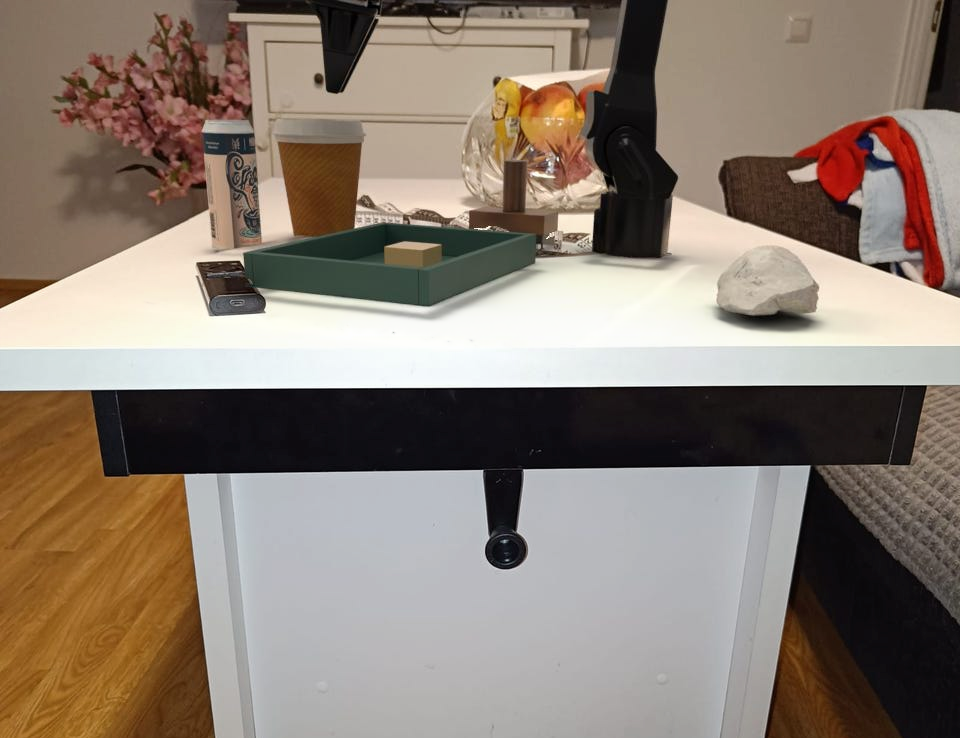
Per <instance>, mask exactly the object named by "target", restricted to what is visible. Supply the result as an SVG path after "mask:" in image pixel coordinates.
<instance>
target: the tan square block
mask: <svg viewBox="0 0 960 738" xmlns="http://www.w3.org/2000/svg"><path fill="white" fill-rule="evenodd" d="M384 255H385V264H391V265H402V266H412V267H422V268H425V267H428V266H431V265H434V264H437V263H440V262H442V245H441V244H430V243H418V242H406V241H404V242H400V243H396V244H393V245H389V246H385V247H384Z"/></svg>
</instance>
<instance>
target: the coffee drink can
mask: <svg viewBox="0 0 960 738" xmlns="http://www.w3.org/2000/svg"><path fill="white" fill-rule="evenodd" d="M201 137H202V149H203V159H204V160H203V161H204V171H205V181H206V192H207V203H208V214H209V226H210V237H211V247H212V248H213V249H215V250H217V251H218V252H219V253H221V252H226V251H231V250H236V249H240V248H246V247H253V246H255V247H256V246H258V245H261V244H263V241H262V239H263V238H262V225H261V224H262V223H261V209H260V196H259V184H258V183H259V182H258V181H259V180H258V168H257V167H258V165H257V152H256V141H255V140H256V138H255V137H256V136H255V130H254V128H253V127H252V125H251V123H250V120H247V119H205V122H204V125H203V126H202V129H201Z"/></svg>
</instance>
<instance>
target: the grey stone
mask: <svg viewBox="0 0 960 738" xmlns="http://www.w3.org/2000/svg"><path fill="white" fill-rule="evenodd" d="M716 286H717V293H716V304H717V305H718V306H719V307H720V308H722V309H723V311H726V312H729V313H734V314H742V315H747V316H753V317H754V316H755V317H756V316H759V317H760V316H770V315H778V312H783V313H787V314H793V315H804V314H812V313H813V314H814V313H816V311H817V309H818V305H817V304H818V302H819V294H818V293H819V292H820V285H819V284H818V283H817V281H816V280H815V278H813V276H812V274H811V272H810V271H809V270H808V268H807V267H806V265H805V263H803V261H802V260H801V259H800V258H799V257H798V255H796V254H795V253H793V252H792V251H791V250H790V249H788V248H786V247H783V246H781V245H780V246H779V245H773V244H771V245H761V246H757V247H755V248H752V249H750V250H747V251H746V252H745V253H743V254H742V255H741V256H739V257H738V258H736V260H734V261H733V262H731V264H730V265H729V266H728V268H726V269H725V270H724V271H723V272H722V273H721V274H720V276H719V278H718V279H717V282H716Z"/></svg>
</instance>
